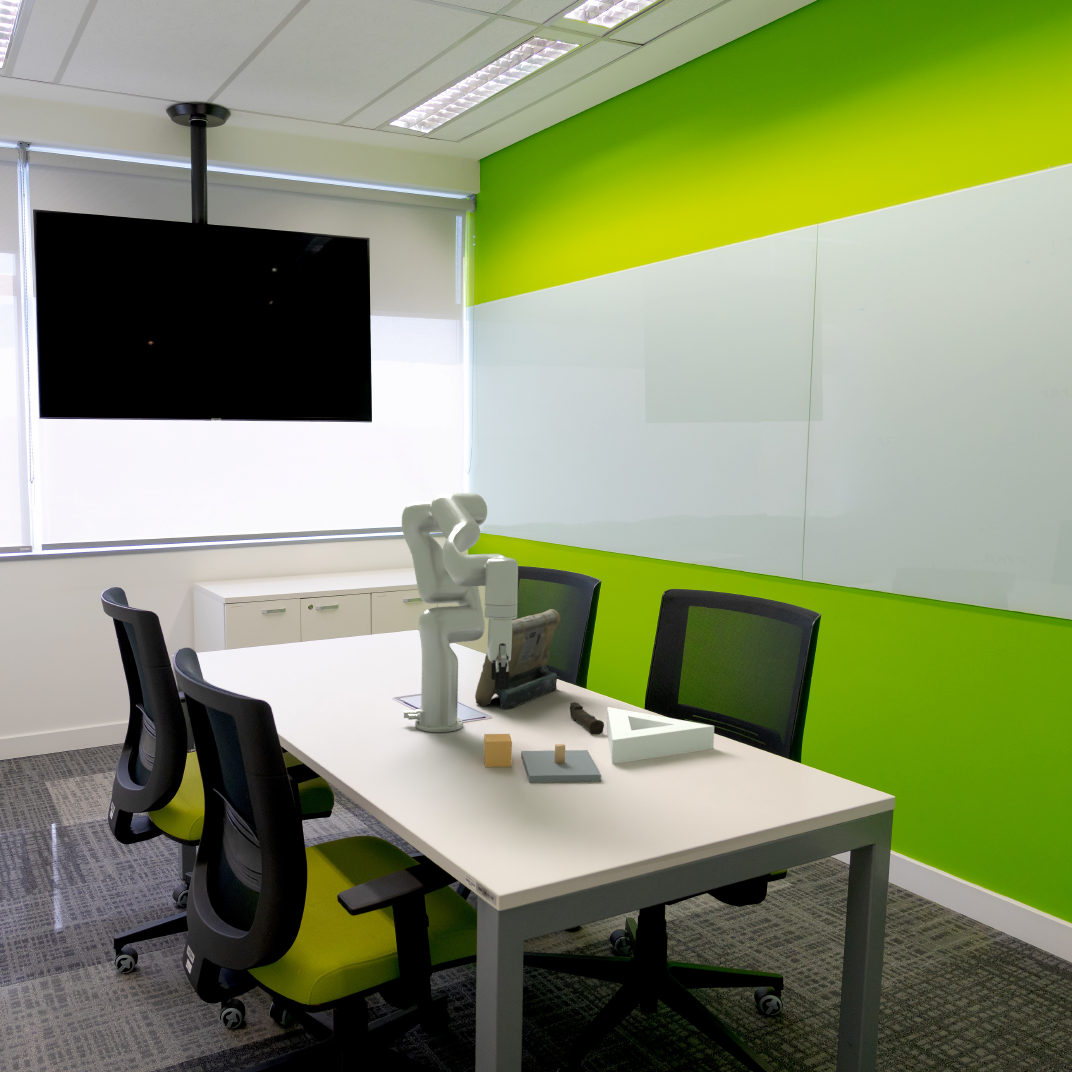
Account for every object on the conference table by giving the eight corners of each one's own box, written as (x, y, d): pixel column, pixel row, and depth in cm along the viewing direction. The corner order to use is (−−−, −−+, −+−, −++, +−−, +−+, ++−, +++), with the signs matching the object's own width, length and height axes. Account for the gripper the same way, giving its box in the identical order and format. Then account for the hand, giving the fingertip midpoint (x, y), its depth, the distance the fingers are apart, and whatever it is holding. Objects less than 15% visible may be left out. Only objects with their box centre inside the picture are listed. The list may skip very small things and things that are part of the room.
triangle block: (606, 730, 261) (607, 707, 261) (704, 733, 260) (705, 710, 260) (611, 766, 231) (612, 740, 231) (722, 770, 231) (723, 743, 230)
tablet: (521, 682, 310) (523, 604, 308) (561, 688, 304) (563, 608, 302) (471, 706, 281) (473, 619, 279) (515, 712, 275) (517, 624, 273)
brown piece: (604, 735, 256) (605, 717, 255) (589, 735, 254) (590, 718, 254) (580, 716, 274) (580, 700, 273) (566, 717, 272) (567, 700, 272)
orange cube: (485, 767, 227) (485, 741, 226) (483, 758, 233) (484, 734, 232) (511, 766, 227) (511, 741, 227) (509, 758, 233) (509, 733, 233)
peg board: (529, 782, 217) (530, 758, 216) (521, 757, 235) (521, 734, 234) (600, 781, 219) (601, 757, 218) (587, 756, 237) (587, 733, 236)
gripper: (482, 605, 235) (481, 676, 237) (487, 617, 218) (486, 693, 219) (513, 605, 236) (512, 675, 238) (521, 617, 219) (519, 692, 220)
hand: (499, 684), depth 229 cm, fingers open, 9 cm apart
